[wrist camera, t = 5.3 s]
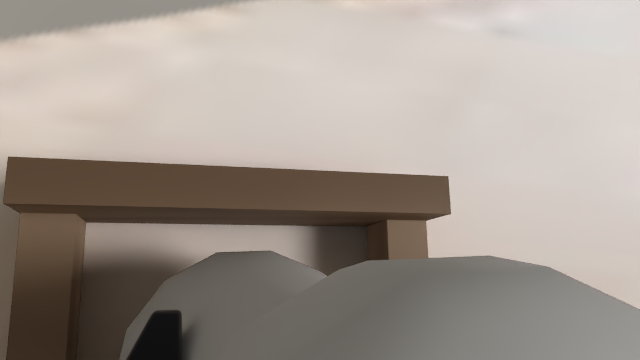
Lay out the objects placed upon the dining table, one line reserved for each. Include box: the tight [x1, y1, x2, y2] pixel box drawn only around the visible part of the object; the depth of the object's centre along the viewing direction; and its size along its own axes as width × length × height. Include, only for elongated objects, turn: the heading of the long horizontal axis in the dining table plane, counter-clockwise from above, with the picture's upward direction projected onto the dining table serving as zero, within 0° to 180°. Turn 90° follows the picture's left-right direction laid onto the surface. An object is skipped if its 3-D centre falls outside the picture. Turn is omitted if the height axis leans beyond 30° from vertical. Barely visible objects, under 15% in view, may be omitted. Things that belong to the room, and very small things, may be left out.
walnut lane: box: [3, 157, 451, 360], centre depth 13 cm, size 8×10×3 cm
